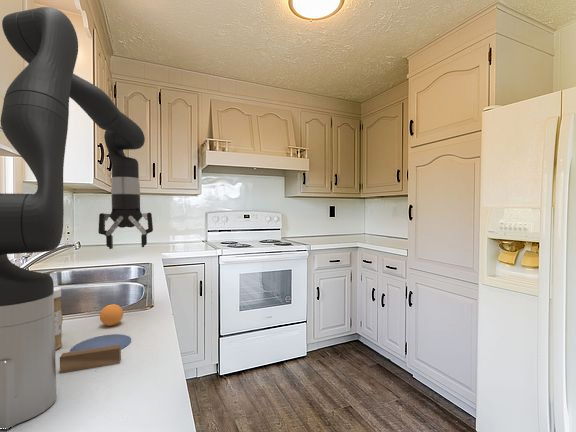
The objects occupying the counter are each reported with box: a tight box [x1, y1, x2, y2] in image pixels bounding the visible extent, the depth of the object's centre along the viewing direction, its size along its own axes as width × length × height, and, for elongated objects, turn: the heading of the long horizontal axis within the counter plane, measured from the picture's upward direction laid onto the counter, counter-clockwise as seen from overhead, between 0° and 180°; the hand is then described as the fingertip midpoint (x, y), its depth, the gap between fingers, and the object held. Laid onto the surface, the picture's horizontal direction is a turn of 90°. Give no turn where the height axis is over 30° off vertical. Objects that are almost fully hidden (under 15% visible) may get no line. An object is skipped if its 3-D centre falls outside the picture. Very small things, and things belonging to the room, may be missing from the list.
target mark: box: [69, 333, 132, 352], centre depth 71 cm, size 12×12×1 cm
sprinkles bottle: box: [53, 286, 63, 351], centre depth 70 cm, size 5×5×14 cm
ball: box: [99, 303, 124, 327], centre depth 84 cm, size 6×6×6 cm
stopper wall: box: [59, 344, 122, 374], centre depth 62 cm, size 2×10×3 cm, turn 111°
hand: (127, 247), depth 93 cm, fingers open, 8 cm apart
